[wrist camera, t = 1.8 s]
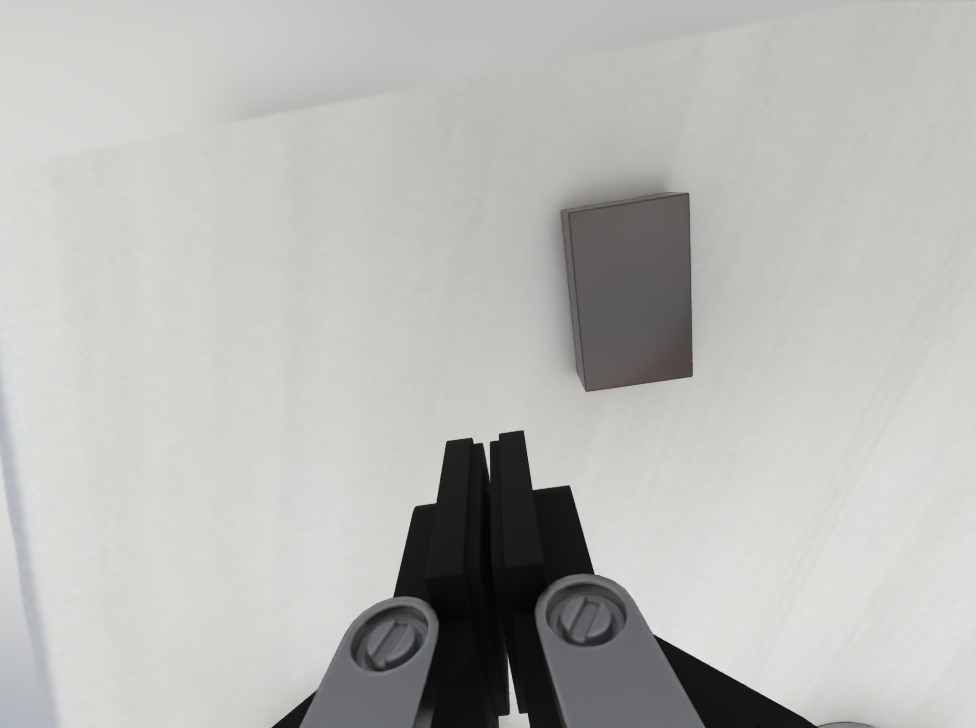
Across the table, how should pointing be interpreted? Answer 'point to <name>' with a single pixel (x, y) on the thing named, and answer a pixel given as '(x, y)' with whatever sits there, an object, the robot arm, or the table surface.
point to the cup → (845, 725)
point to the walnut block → (630, 290)
